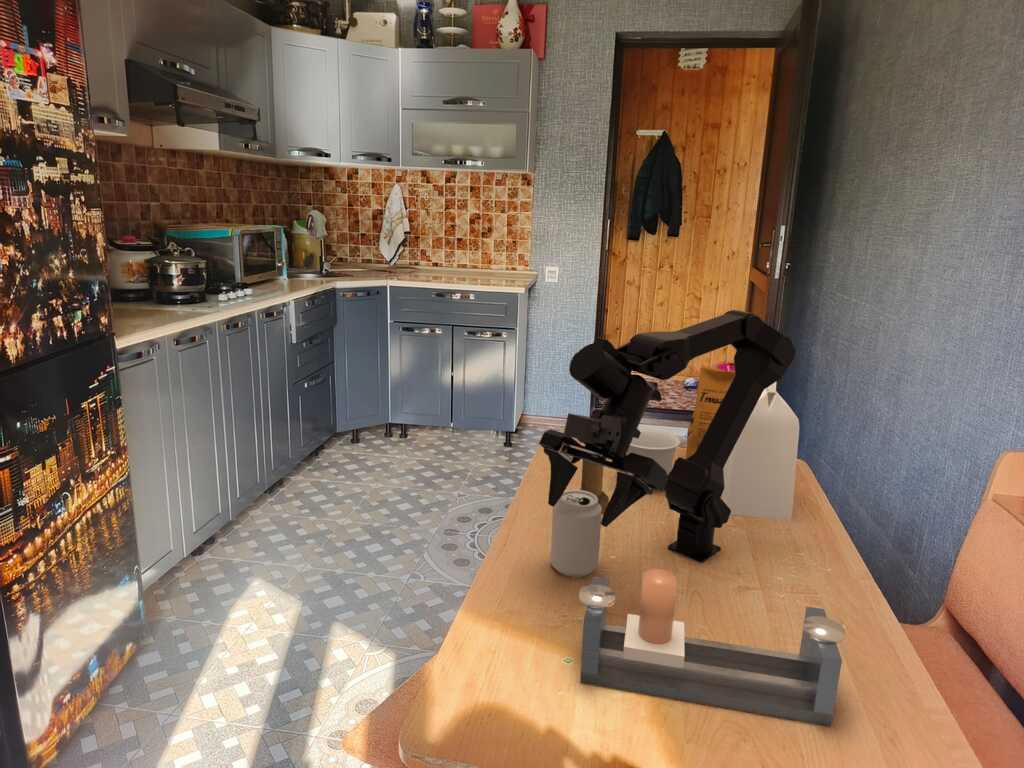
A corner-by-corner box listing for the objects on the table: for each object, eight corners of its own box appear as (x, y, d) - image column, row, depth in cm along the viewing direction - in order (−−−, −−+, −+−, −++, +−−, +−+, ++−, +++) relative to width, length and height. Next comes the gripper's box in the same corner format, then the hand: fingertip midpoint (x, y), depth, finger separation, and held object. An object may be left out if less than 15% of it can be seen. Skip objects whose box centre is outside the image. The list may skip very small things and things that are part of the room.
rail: (570, 680, 84) (573, 614, 81) (581, 632, 93) (584, 571, 91) (842, 728, 77) (855, 657, 75) (824, 670, 87) (835, 606, 84)
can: (595, 582, 105) (600, 509, 102) (546, 576, 107) (549, 504, 104) (599, 558, 112) (604, 489, 109) (553, 552, 114) (556, 484, 111)
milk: (791, 520, 128) (810, 383, 121) (726, 514, 130) (741, 378, 123) (779, 494, 139) (796, 367, 132) (719, 488, 141) (733, 363, 134)
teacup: (593, 479, 144) (595, 433, 141) (652, 469, 150) (656, 425, 147) (626, 502, 133) (629, 453, 131) (688, 490, 139) (693, 443, 137)
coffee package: (687, 452, 161) (696, 359, 155) (744, 461, 156) (755, 365, 151) (681, 467, 152) (690, 369, 146) (740, 476, 147) (752, 375, 142)
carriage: (622, 658, 83) (628, 588, 81) (627, 624, 90) (632, 559, 87) (683, 668, 81) (690, 597, 79) (683, 633, 88) (689, 567, 86)
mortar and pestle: (611, 503, 133) (617, 413, 128) (604, 517, 127) (610, 423, 122) (577, 498, 135) (582, 409, 130) (568, 511, 129) (573, 419, 124)
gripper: (542, 377, 99) (494, 476, 96) (654, 401, 87) (604, 517, 83) (580, 410, 107) (537, 503, 104) (687, 437, 95) (643, 544, 91)
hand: (576, 515), depth 95 cm, fingers open, 9 cm apart
